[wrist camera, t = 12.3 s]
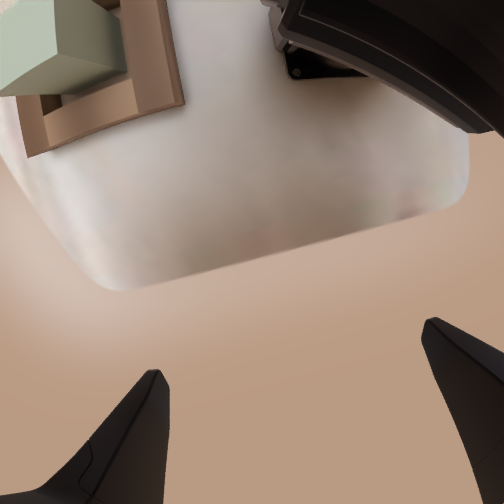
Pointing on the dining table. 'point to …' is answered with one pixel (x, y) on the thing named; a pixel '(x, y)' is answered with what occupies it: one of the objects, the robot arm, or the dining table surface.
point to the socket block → (111, 83)
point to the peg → (58, 47)
